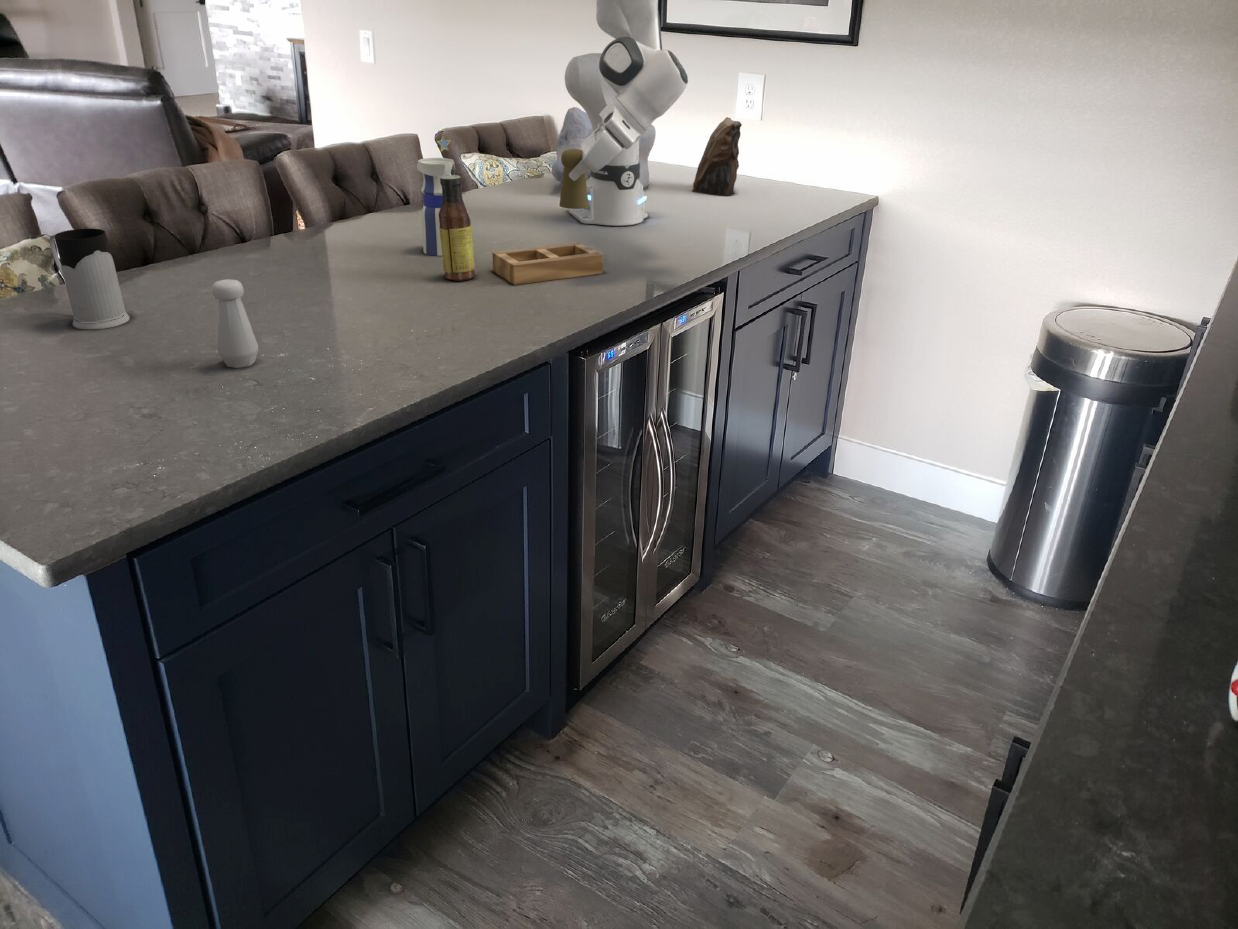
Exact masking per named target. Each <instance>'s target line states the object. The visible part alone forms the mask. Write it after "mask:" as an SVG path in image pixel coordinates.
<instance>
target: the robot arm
mask: <svg viewBox="0 0 1238 929" xmlns="http://www.w3.org/2000/svg"><path fill="white" fill-rule="evenodd" d="M595 1H596V2H595V3H596V4H595V7H596V8H595V10H596V11H595V19H596V24H597V26H598V27H599V28H600V30H601V31H603V33H605V34H607V35H608V36H609V37H612V38H613V40H612V41H610V42H609V43H608V44H607V45H606V47H604V49H603V51H602V52H590V53H585V54H580V55H576V56H573V57H571V59H570V60H569V62H568V63H567V65H566V68H565V70H564V86H565V88H566V90H567V92H568V94H569V96H570V97H571V98H572V99H573V100H574V101H575V102H576V103H578V104H579V105H580V107H581V108H582V109H583V110H584V112H586V113H587V115H588V117H589V119H590V121H591V124H592V128H593V133H592V134H591V135H590V136H589V137H588V138H587V139H586V140H585V141H584V142H583V143H582V150H583V152H582V160H581V161H580V162H579V164H578V165H577V166H576V167H575V168H573V169H572V170H571V171H570V172H569V177H570V178H571V179H572V180H573V181H575V180H577V179H578V178H579V177H580V176H581V175H582V174H583V173H585V172H586V171H588V170H589V168H590V169H591V172H590V176H591V177H590V178H589V179H588V180H587V181H586V186H587V194H588V202H589V207H587V208H581V209H569V208H567V212H568V213H569V214H570V215H572V216H573V217H574V218H575V219H577V220H578V221H579V222H580V223H582V224H587V225H589V224H591V225H602V226H615V227H616V226H618V227H619V226H632V225H638V224H640V223H643V222H644V220H645V219H646V218H648V217H649V216H648V212H646V211H645V201H646V200H647V195H644V188H643V185H642V184H641V183H640V182H639V178H640V172H641V169H640V163H639V138H640V137H641V136H642V135H643V134H644V133H645V132H646V131H647V130H648V129H649V127H650V125H651V124H652V125H653V123H654V121H656V120H657V119H659V118H660V117H663V115H664V114H665V113H666V112H667V111H668V110H670V109H671V107H673V105H674V104H675V103H676V102H677V101H678V100H679V99H680V97H681V96H682V94H683V93H684V91H685V90H686V89H687V86H688V83H689V77H688V74H687V72H686V70H685V68H684V66H683V64H681V62H680V60H679V59H678V57H677V56H676V55H675V54H674V53H673V52H672V51H671V50H669V49H663V42H662V30H661V29H662V28H661V21H660V20H661V19H660V12H659V4H658V0H595Z"/></svg>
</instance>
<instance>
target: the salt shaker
mask: <svg viewBox="0 0 1238 929" xmlns="http://www.w3.org/2000/svg"><path fill="white" fill-rule="evenodd" d="M211 292H212V295H213V297H214V299H216V300H218V326H217V328H218V329H217V351H218V355H219V356H220V358H221V359H222V360H223V362H224V364H225V365H226V366H227V367H229V368H234V369H240V368H241V369H242V368H246V367H251V366H252V365H253V364H254V363H256V359H257V357H258V353H259V345H258V342H257V339H256V336H255V332H254V331H253V328H252V325H251V322H250V320H249V317H248V314H247V312H246V309H245V306H244V303H243V301H242V298H241V297H243V296H244V293H245V292H244V286H243V284H242V283H241V281H239V280H237V279H232V278H231V279H230V278H227V279H221V280H217V281H215V282H214V283H213V284H212V285H211Z"/></svg>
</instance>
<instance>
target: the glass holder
mask: <svg viewBox="0 0 1238 929" xmlns="http://www.w3.org/2000/svg"><path fill="white" fill-rule="evenodd" d="M49 247H50V250H51V254H52V258H53V260H54V262H55V265H56V267H57V269H58V271H59V273H60V275H61V277H62V278H63V280H64V284H65V288H66V292H67V296H68V300H69V304H70V307H71V311H72V316H73V320H72V326H73V327H74V328H75V329H81V330H103V329H110V328H114V327H118V326H121V325H123V324H125V323H127V322H128V321H130V318H131V317H130V315H129V314H128V313H127V311H126V309H125V305H124V299H123V295H122V292H121V287H120V283H119V278H118V275H117V271H116V266H115V262H114V259H113V255H112V254H111V249H110V244H109V242H108V236H107V232H106V230H104V229H100V228H75V229H69V230H63V231H59V232H57V233H55V234H52V235H50V237H49ZM123 315H124V316H123ZM122 316H123V317H122ZM118 318H119V319H118ZM74 319H76V320H78V321H80V322H77V321H75V320H74ZM113 319H116V320H113ZM110 320H112V321H110ZM106 321H107V322H106ZM81 322H101V323H81Z"/></svg>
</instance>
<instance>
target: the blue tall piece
mask: <svg viewBox="0 0 1238 929" xmlns="http://www.w3.org/2000/svg"><path fill="white" fill-rule="evenodd" d="M436 143H437V144H438V145H439V146H440V153H441V152H443V151H448V152H449V151H450V149H449V144H450V143H451V140H449V139H446V138H445V136H444V135H442V136H441V139H440V140H438V141H436ZM455 164H456V163H455V161H454V159H452V158H448V157H447V158H445V157H426V158H421V159H418V161H417V165H416V170H417V171H418V172H419V173H421V175H422V179H423V180H422V187H421V189H420V192H421V193H422V199H423V206H422V210H421V217H422V218H421V219H422V236H423V238H422V240H423V242H422V243H423V253H424V254H426V255H428V256H437V257H439V256H440V257H442V249H441V238H440V229H439V227H440V223H439V211H440V208H441V206H442V203H443V198H442V197H443V194H442V186H441V184H440V177H442V176H446V175H452V174H451V173H452V172H453V175H456V165H455Z"/></svg>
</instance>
